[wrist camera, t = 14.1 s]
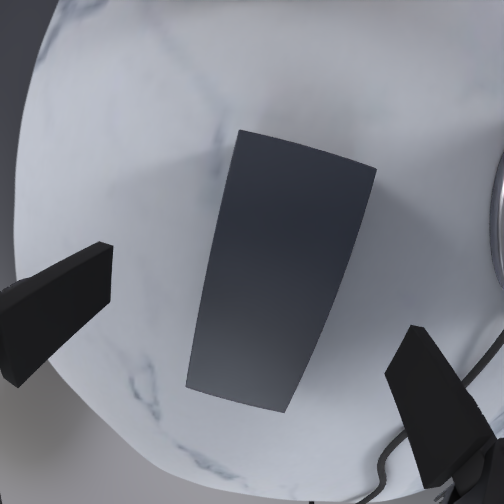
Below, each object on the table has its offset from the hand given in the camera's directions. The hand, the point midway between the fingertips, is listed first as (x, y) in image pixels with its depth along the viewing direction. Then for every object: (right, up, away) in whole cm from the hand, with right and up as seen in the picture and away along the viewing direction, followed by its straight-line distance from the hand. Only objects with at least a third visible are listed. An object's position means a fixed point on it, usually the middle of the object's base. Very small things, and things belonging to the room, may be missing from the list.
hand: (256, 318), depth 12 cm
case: (+1, +2, +7) cm, 7 cm away
